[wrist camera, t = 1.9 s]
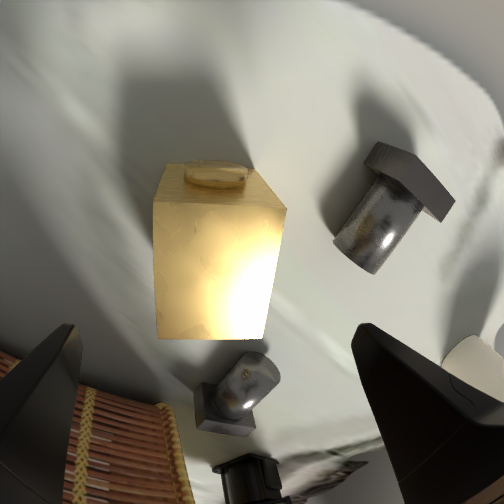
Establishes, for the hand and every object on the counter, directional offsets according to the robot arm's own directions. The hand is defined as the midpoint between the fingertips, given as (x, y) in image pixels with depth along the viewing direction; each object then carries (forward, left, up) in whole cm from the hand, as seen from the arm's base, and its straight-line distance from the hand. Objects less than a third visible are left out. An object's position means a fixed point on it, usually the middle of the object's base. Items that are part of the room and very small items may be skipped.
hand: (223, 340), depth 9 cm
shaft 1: (-7, -11, -9) cm, 16 cm away
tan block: (0, 0, -9) cm, 9 cm away
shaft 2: (+8, -6, -9) cm, 13 cm away
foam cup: (+11, -32, -9) cm, 35 cm away
